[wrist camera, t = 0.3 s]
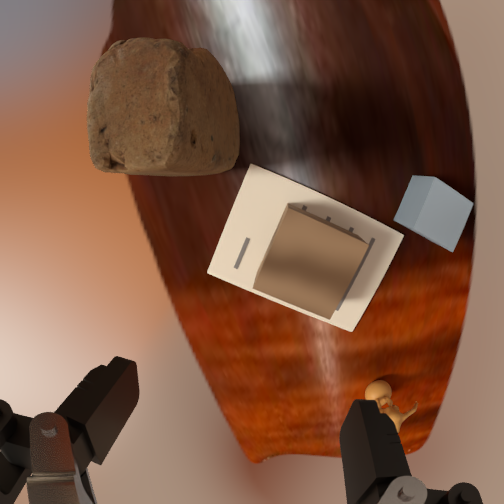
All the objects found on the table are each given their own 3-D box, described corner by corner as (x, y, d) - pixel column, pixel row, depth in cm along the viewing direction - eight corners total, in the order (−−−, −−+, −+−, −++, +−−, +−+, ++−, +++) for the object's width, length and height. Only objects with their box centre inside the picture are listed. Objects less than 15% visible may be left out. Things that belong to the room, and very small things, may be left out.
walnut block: (287, 202, 34) (288, 207, 29) (357, 235, 34) (369, 245, 29) (256, 272, 36) (252, 288, 31) (324, 301, 36) (329, 319, 31)
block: (241, 175, 34) (187, 177, 15) (178, 175, 34) (71, 184, 15) (242, 84, 31) (197, -6, 12) (180, 88, 32) (86, 22, 12)
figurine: (349, 400, 40) (362, 459, 29) (347, 370, 39) (362, 431, 27) (400, 387, 39) (424, 441, 27) (401, 357, 38) (430, 411, 26)
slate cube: (412, 175, 32) (434, 176, 26) (448, 198, 32) (473, 203, 26) (393, 220, 33) (412, 229, 28) (429, 240, 33) (452, 252, 28)
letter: (250, 163, 33) (250, 163, 33) (403, 234, 34) (404, 235, 33) (207, 272, 37) (206, 273, 37) (351, 331, 37) (351, 332, 37)
